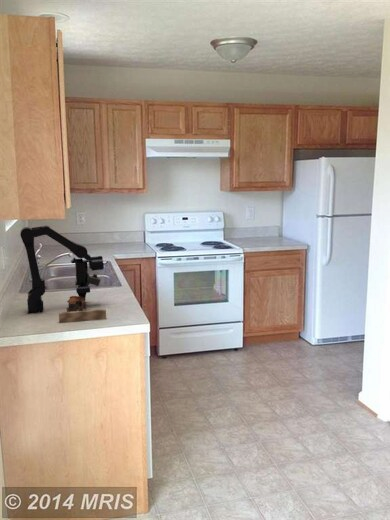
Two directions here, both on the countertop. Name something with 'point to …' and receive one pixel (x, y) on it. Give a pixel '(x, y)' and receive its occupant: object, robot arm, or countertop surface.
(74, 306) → the pottery mug
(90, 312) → the walnut board
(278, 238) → the countertop surface
